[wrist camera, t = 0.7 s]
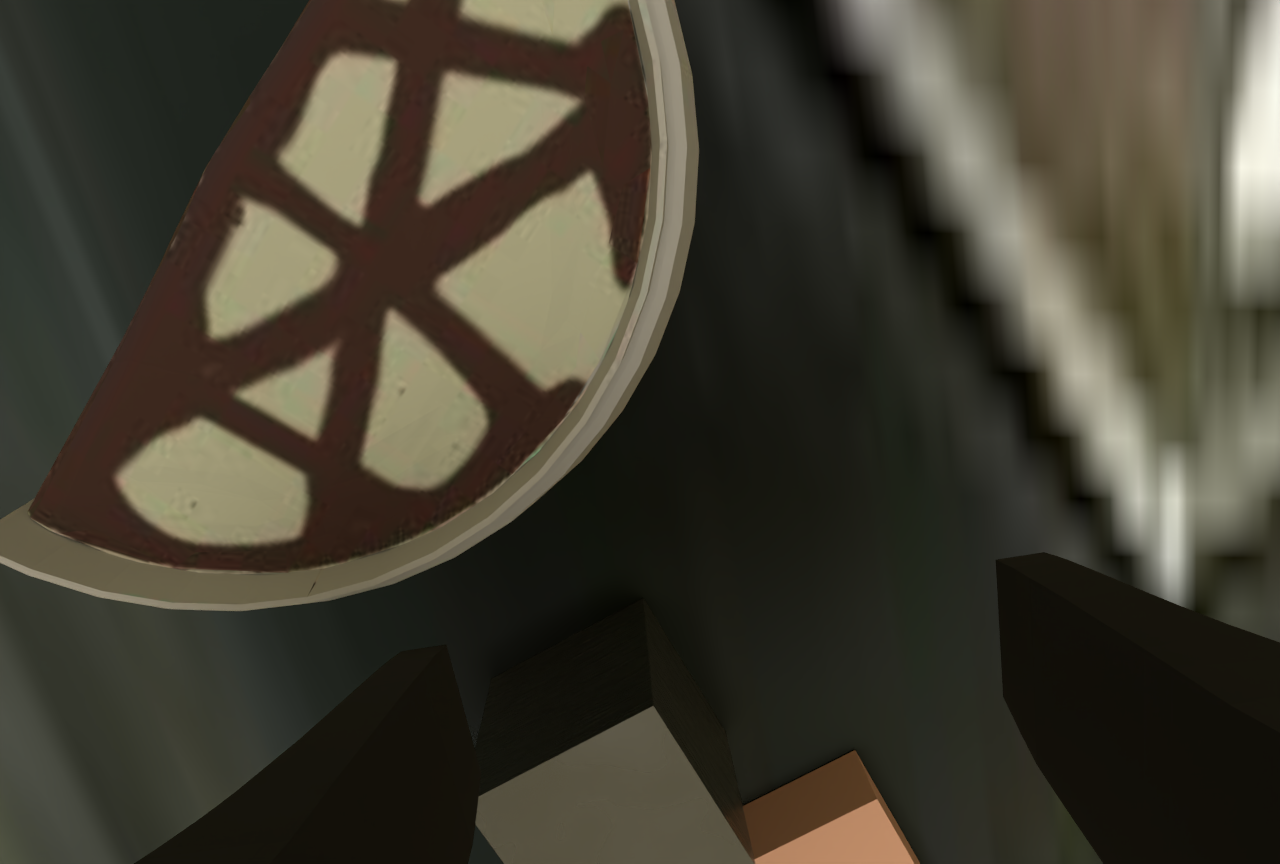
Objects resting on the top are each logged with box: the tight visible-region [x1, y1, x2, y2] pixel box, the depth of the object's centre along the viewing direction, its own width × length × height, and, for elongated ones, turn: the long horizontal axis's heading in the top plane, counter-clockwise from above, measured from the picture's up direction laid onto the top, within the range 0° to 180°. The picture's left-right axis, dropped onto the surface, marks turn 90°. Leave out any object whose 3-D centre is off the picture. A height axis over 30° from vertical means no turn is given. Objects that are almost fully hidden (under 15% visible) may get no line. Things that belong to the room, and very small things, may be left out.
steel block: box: [475, 598, 756, 864], centre depth 21 cm, size 4×4×5 cm
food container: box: [0, 0, 699, 611], centre depth 15 cm, size 12×6×10 cm, turn 145°
